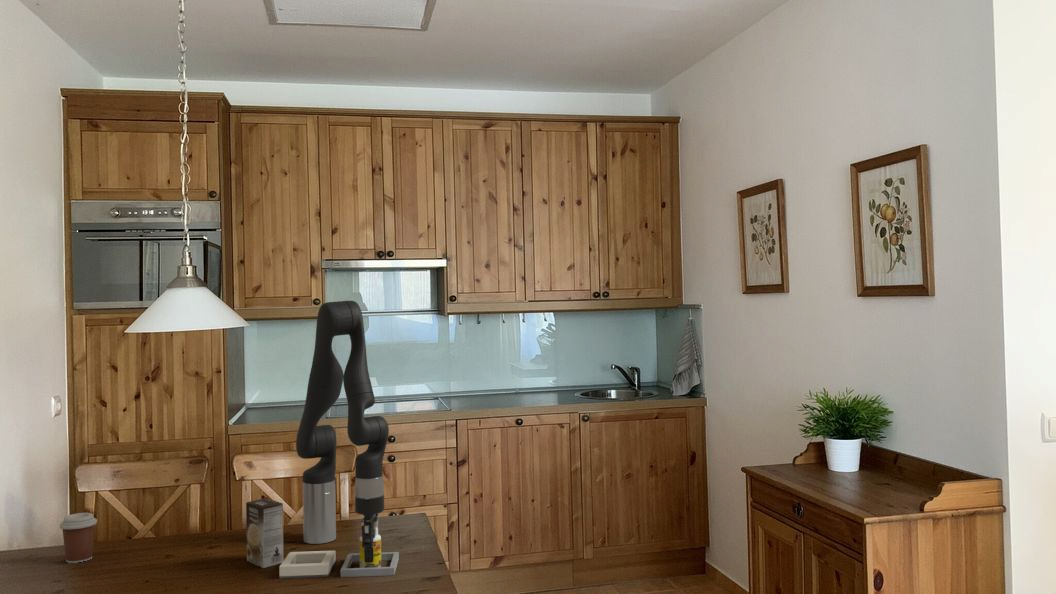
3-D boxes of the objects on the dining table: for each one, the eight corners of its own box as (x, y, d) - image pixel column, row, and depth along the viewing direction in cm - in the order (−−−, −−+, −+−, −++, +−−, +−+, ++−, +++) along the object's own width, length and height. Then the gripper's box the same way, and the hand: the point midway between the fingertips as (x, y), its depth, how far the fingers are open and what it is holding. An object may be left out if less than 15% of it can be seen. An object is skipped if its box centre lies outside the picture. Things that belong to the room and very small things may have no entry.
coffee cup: (52, 562, 224) (51, 518, 224) (84, 552, 232) (83, 510, 232) (73, 567, 220) (73, 522, 220) (105, 557, 228) (104, 513, 228)
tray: (348, 560, 222) (348, 553, 222) (398, 558, 223) (398, 551, 223) (340, 577, 209) (340, 570, 209) (394, 575, 209) (393, 568, 209)
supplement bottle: (364, 572, 212) (364, 532, 212) (356, 566, 216) (355, 527, 216) (384, 568, 215) (384, 529, 215) (376, 562, 220) (375, 524, 219)
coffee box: (245, 561, 222) (244, 501, 222) (267, 555, 227) (266, 497, 227) (263, 568, 216) (262, 507, 216) (285, 562, 221) (284, 502, 221)
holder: (290, 563, 220) (289, 552, 220) (335, 561, 221) (335, 550, 221) (279, 578, 208) (279, 566, 208) (327, 576, 209) (327, 565, 209)
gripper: (358, 487, 223) (359, 550, 223) (350, 500, 208) (351, 567, 208) (386, 486, 223) (387, 549, 223) (380, 499, 209) (382, 566, 209)
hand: (370, 557), depth 216 cm, fingers closed on supplement bottle, 5 cm apart
